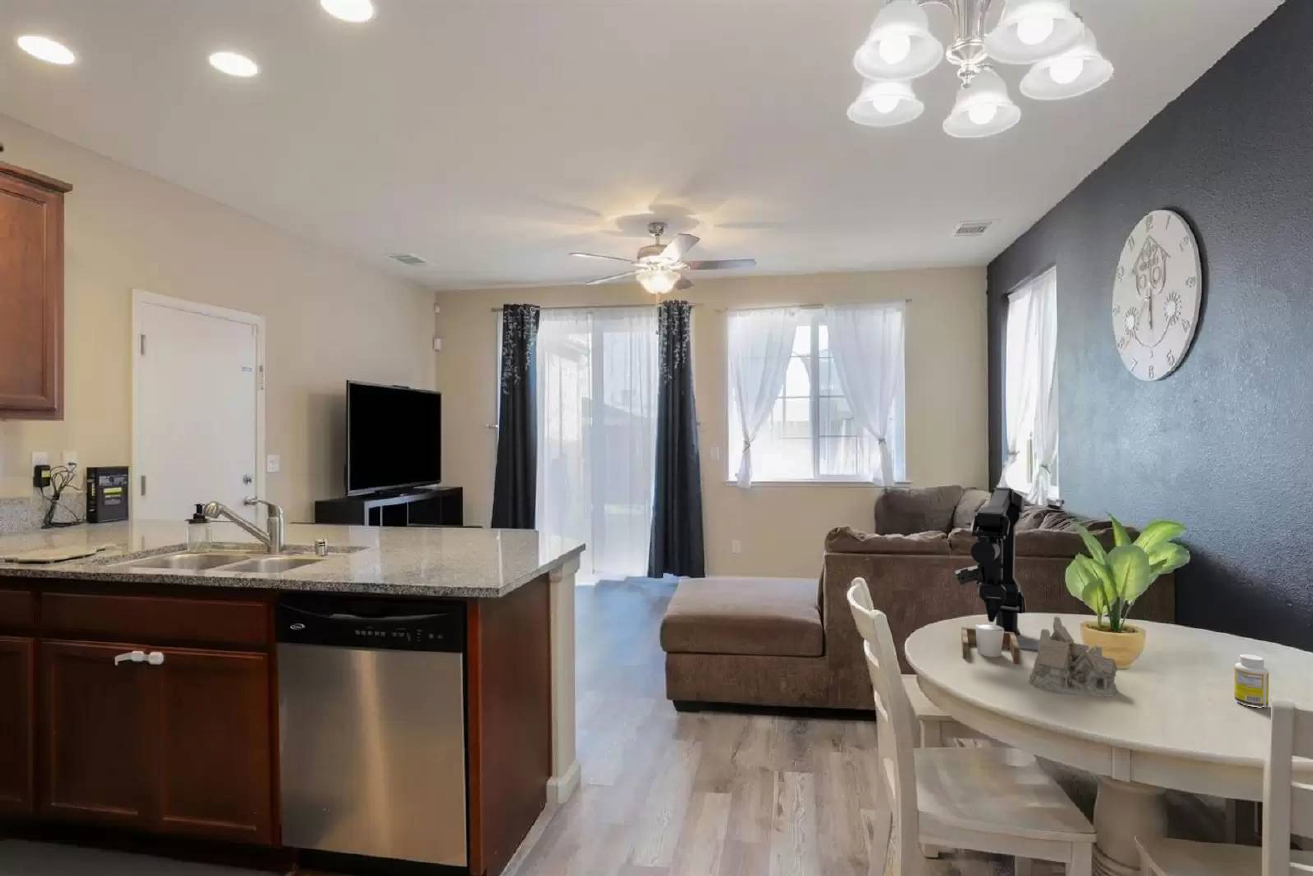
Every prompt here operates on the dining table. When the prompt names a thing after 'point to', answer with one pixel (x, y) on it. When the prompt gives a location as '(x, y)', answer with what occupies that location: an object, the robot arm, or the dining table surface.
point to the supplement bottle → (1251, 681)
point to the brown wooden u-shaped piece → (1008, 642)
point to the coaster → (1028, 644)
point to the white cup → (989, 639)
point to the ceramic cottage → (1071, 665)
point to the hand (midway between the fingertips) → (989, 617)
